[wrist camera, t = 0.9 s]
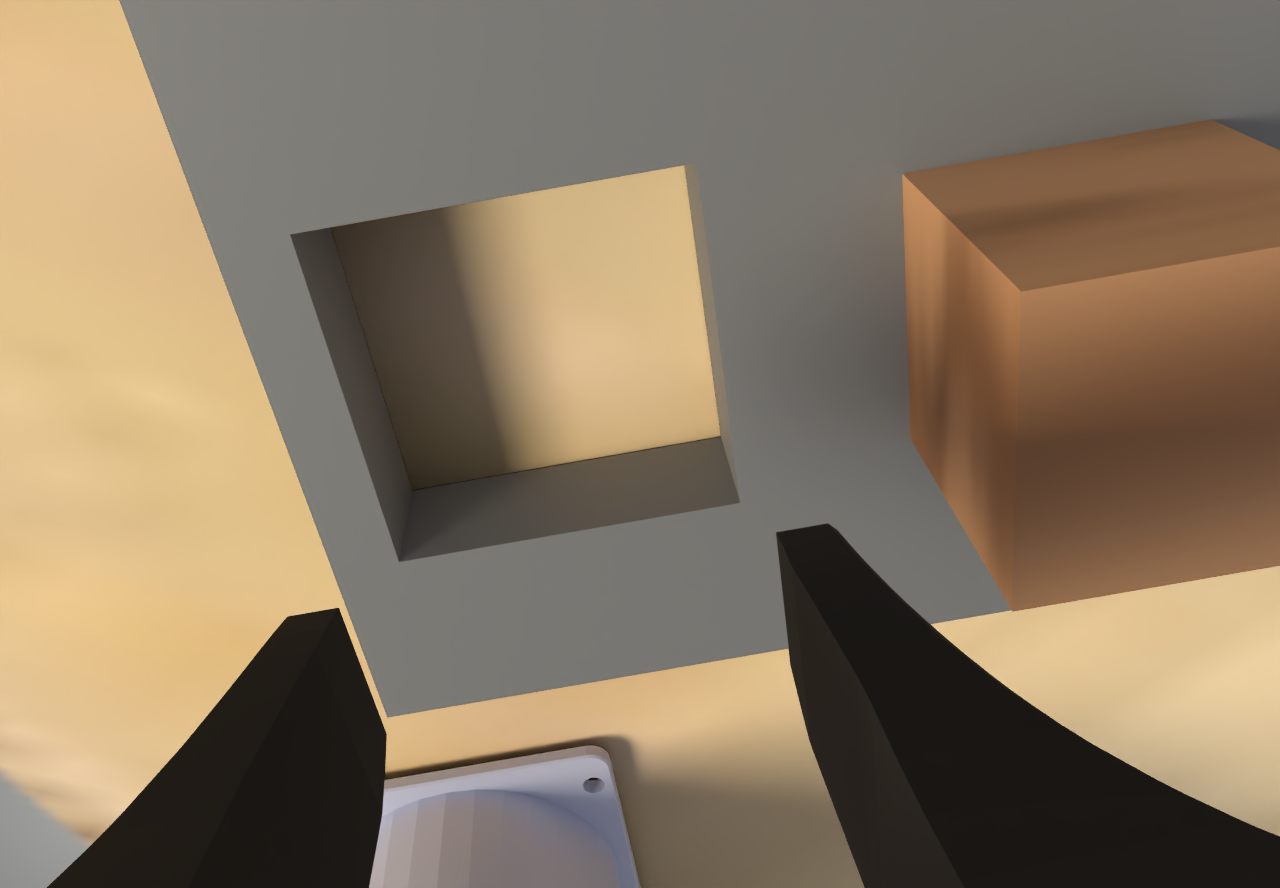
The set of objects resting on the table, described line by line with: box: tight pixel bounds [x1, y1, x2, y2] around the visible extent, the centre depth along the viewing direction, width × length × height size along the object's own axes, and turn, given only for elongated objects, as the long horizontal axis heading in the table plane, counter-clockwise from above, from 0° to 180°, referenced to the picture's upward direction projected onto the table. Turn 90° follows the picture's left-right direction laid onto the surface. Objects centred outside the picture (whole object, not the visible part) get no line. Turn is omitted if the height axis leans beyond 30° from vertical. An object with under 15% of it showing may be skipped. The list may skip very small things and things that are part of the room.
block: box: [902, 119, 1280, 611], centre depth 16 cm, size 5×5×5 cm
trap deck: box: [119, 0, 1280, 717], centre depth 18 cm, size 20×30×4 cm, turn 99°
